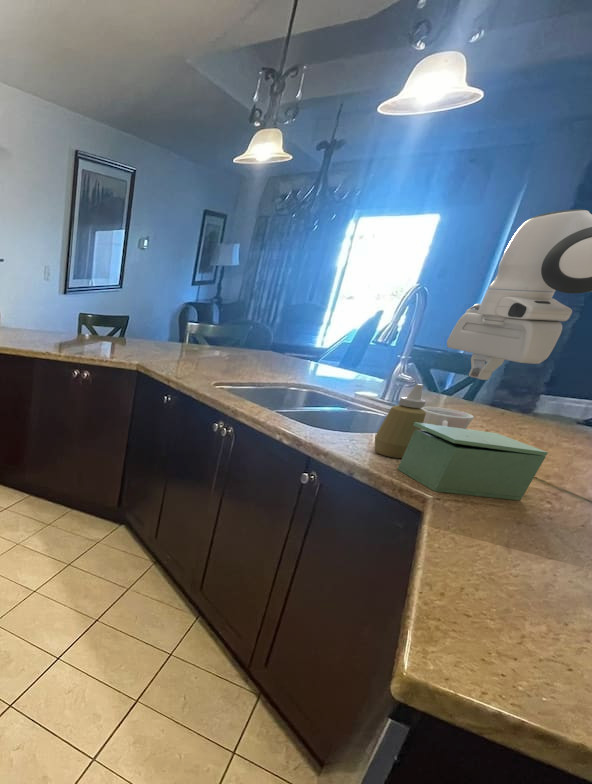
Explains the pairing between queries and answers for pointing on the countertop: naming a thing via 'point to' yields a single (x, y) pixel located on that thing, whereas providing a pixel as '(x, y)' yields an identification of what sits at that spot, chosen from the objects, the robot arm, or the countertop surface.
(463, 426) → the mug
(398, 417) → the squeeze bottle
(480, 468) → the tea tin
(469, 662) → the countertop surface
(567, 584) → the countertop surface
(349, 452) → the countertop surface
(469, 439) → the tin lid
